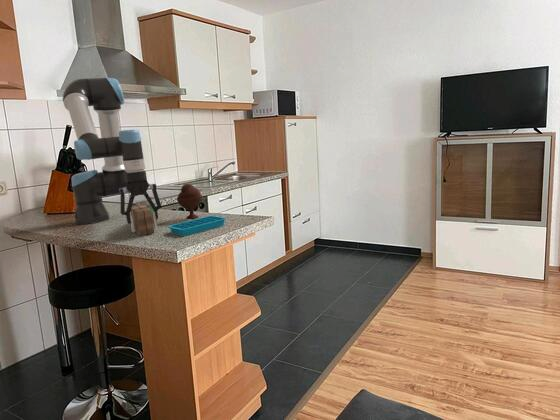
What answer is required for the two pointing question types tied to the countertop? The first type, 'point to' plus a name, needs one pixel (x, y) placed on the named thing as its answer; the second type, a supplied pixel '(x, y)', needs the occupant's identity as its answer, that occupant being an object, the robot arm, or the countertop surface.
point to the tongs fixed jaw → (138, 220)
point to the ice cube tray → (197, 225)
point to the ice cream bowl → (189, 199)
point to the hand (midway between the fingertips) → (144, 229)
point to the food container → (148, 203)
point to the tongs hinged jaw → (147, 218)
